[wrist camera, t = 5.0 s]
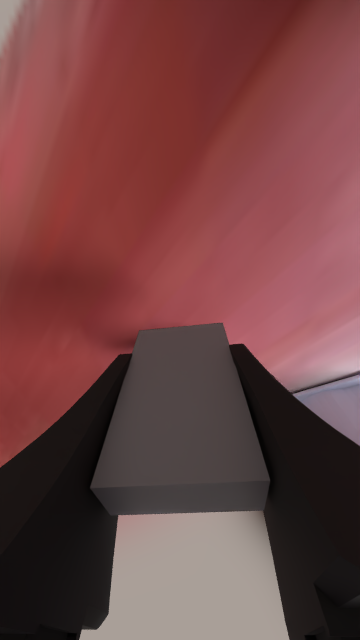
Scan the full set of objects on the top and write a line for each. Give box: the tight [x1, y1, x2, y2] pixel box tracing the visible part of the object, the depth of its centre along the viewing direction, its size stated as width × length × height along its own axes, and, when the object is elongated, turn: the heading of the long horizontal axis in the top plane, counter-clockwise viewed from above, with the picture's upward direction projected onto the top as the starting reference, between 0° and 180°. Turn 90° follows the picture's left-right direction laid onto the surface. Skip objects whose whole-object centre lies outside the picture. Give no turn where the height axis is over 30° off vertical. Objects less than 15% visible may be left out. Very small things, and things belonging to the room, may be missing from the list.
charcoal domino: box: [90, 323, 270, 515], centre depth 9 cm, size 2×4×7 cm, turn 97°
